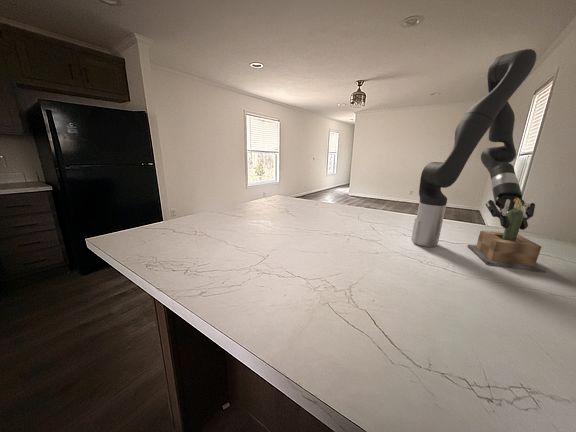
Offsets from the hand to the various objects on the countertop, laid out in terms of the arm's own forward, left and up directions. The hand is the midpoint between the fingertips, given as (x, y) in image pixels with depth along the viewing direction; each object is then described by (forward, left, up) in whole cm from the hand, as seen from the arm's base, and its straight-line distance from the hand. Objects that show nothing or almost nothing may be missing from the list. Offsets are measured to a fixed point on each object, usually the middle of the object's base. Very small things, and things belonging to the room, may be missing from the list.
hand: (514, 227), depth 79 cm
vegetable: (0, +2, -10) cm, 10 cm away
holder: (0, +2, -12) cm, 13 cm away
